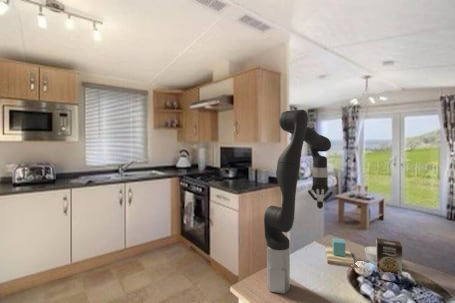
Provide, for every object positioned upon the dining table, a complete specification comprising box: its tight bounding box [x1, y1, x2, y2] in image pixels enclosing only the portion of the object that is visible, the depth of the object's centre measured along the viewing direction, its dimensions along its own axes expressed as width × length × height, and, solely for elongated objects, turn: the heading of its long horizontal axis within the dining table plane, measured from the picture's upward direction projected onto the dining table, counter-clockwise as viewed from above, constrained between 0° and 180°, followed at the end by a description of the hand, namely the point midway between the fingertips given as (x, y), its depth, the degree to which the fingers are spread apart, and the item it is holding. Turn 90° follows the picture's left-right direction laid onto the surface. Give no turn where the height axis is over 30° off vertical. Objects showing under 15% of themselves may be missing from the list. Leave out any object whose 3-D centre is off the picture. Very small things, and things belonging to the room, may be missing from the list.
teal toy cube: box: [332, 237, 346, 256], centre depth 123 cm, size 5×5×7 cm
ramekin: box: [364, 246, 376, 263], centre depth 119 cm, size 11×11×5 cm
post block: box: [324, 246, 355, 268], centre depth 123 cm, size 16×12×8 cm
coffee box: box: [375, 237, 403, 276], centre depth 104 cm, size 9×6×16 cm
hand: (320, 208), depth 127 cm, fingers closed
